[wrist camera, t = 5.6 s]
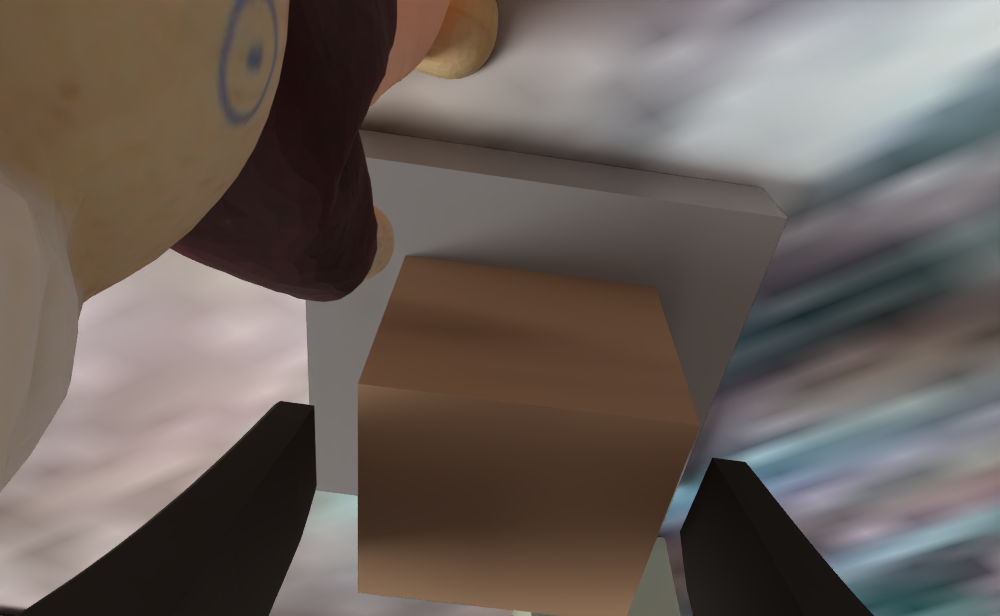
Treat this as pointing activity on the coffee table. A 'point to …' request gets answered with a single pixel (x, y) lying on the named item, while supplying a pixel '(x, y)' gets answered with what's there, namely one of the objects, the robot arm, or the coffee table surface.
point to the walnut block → (517, 439)
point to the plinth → (545, 257)
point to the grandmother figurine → (192, 155)
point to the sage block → (649, 588)
